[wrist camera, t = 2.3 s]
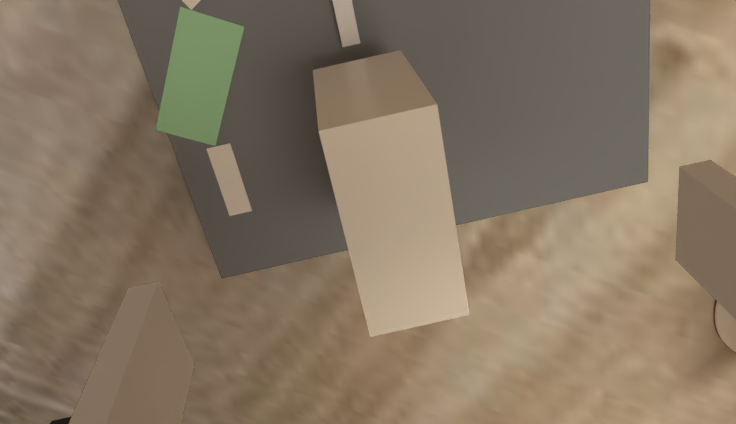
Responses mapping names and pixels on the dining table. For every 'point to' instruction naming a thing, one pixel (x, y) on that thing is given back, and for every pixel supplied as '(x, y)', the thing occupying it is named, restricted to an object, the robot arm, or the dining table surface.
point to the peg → (390, 186)
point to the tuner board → (437, 72)
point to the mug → (725, 326)
